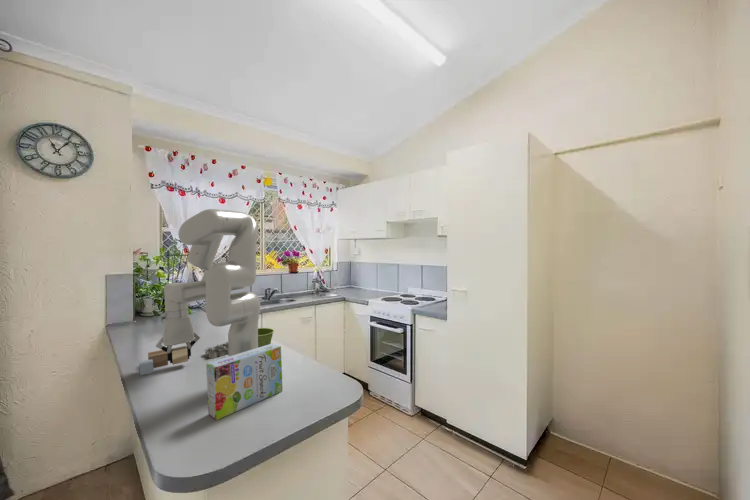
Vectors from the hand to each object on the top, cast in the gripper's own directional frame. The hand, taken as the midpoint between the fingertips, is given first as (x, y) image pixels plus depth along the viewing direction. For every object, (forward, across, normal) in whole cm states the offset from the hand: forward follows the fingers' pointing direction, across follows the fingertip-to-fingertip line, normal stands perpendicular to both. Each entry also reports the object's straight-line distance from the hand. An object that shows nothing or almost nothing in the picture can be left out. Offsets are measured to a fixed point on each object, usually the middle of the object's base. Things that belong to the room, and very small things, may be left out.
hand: (179, 359), depth 122 cm
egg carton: (+4, +16, +6) cm, 17 cm away
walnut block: (+3, -6, +9) cm, 11 cm away
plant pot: (+4, +28, -11) cm, 30 cm away
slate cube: (+3, -10, +3) cm, 11 cm away
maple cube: (+1, 0, 0) cm, 1 cm away
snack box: (+5, +12, -45) cm, 47 cm away
